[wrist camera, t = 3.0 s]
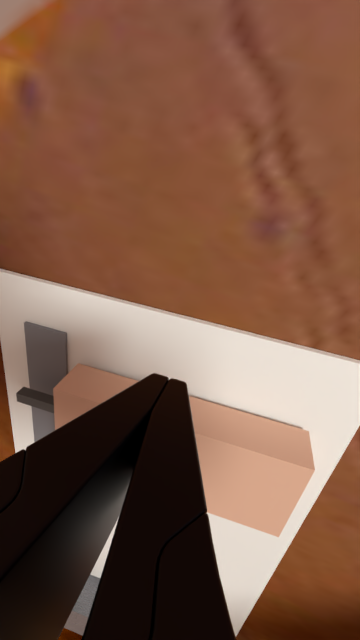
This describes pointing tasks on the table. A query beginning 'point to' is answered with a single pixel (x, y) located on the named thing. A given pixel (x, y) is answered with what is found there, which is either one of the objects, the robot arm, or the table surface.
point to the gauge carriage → (211, 449)
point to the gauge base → (202, 382)
